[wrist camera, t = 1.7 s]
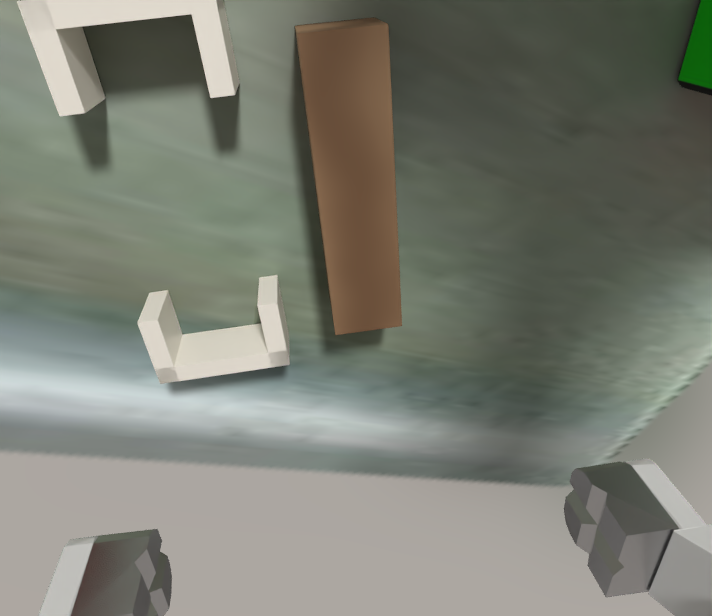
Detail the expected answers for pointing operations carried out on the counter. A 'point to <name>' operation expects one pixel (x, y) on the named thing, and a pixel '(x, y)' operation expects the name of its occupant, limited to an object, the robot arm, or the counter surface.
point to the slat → (353, 167)
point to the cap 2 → (215, 339)
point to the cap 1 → (111, 5)
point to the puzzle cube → (699, 53)
